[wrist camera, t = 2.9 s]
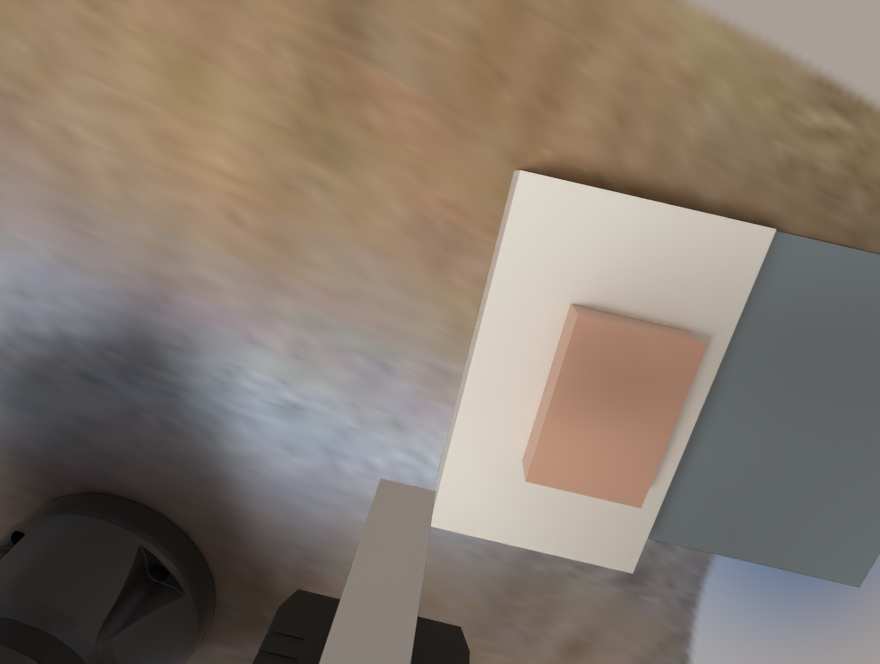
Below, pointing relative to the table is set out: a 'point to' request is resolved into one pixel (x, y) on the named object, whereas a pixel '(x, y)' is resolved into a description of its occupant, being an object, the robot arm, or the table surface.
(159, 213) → the table surface
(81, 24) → the table surface
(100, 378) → the table surface
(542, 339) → the plate
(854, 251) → the mat
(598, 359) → the tile
